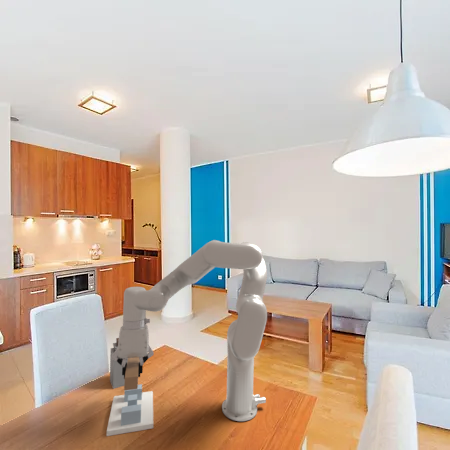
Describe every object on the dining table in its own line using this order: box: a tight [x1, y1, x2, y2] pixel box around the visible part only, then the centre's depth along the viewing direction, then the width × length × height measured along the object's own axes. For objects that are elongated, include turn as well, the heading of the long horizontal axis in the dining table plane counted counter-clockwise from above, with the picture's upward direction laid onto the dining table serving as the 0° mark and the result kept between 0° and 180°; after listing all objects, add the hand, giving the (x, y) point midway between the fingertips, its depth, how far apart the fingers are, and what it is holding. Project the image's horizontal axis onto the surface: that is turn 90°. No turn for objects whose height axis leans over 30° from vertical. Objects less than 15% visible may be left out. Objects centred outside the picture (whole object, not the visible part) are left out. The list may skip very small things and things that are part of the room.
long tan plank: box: [123, 357, 139, 391], centre depth 95 cm, size 4×16×4 cm, turn 16°
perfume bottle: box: [109, 337, 128, 389], centre depth 113 cm, size 7×7×18 cm
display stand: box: [106, 383, 154, 437], centre depth 95 cm, size 14×18×6 cm
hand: (132, 375), depth 95 cm, fingers closed on long tan plank, 4 cm apart
